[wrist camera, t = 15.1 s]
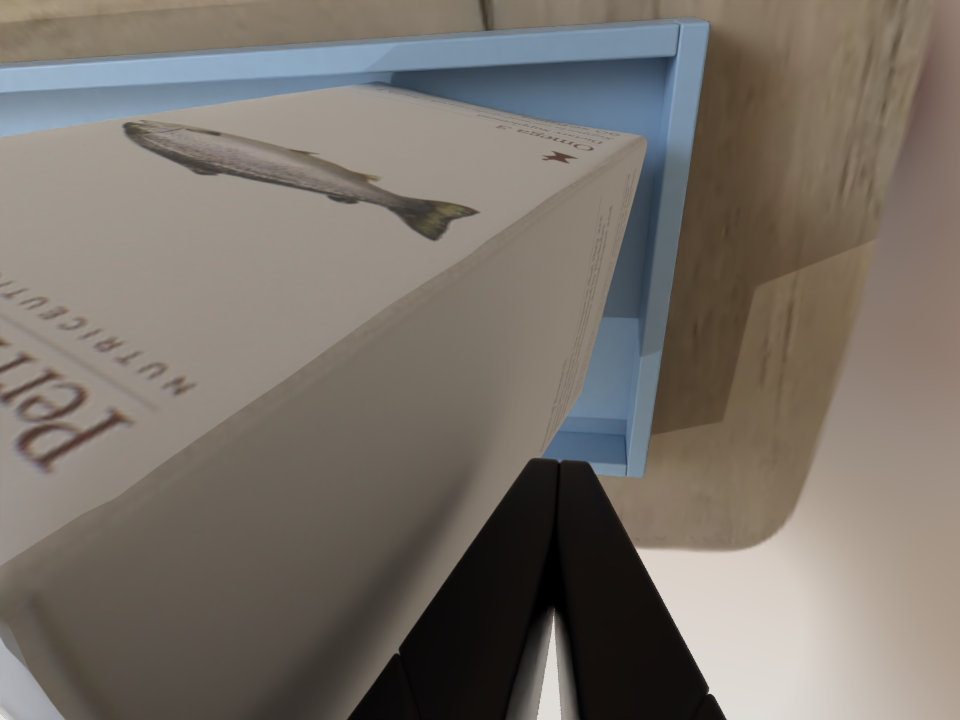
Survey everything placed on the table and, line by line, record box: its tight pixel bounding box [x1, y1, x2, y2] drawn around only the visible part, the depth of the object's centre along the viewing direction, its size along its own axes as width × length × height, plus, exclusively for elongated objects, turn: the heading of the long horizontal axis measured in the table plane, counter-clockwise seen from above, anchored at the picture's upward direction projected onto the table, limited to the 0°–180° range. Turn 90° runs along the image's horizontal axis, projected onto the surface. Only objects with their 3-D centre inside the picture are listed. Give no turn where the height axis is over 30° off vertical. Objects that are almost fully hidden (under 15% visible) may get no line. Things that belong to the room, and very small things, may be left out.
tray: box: [0, 17, 711, 478], centre depth 17 cm, size 23×13×2 cm, turn 94°
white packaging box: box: [0, 81, 647, 720], centre depth 10 cm, size 7×7×13 cm
